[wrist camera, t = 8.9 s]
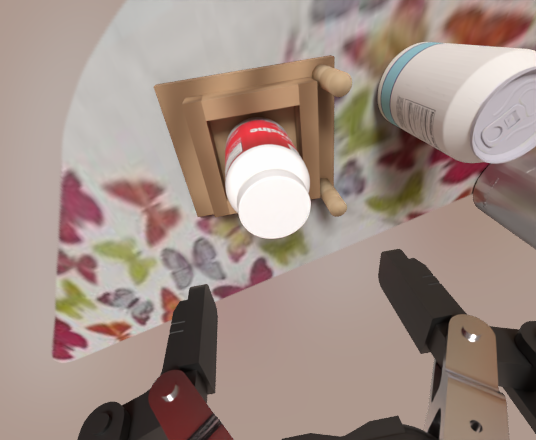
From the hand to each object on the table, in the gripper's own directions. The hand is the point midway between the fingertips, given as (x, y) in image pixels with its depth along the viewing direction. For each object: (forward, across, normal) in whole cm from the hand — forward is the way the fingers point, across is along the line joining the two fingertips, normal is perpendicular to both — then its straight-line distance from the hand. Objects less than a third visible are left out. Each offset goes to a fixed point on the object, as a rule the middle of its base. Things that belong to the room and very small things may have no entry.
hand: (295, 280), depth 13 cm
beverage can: (+18, -15, -3) cm, 24 cm away
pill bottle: (+17, 0, 0) cm, 17 cm away
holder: (+18, 0, 0) cm, 18 cm away
